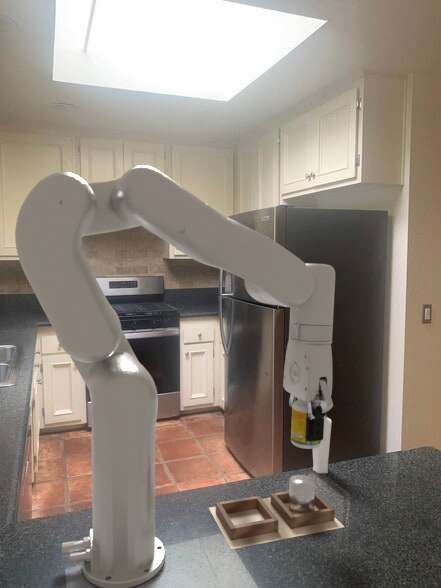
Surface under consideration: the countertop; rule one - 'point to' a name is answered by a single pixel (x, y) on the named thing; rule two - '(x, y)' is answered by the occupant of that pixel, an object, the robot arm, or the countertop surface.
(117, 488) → the robot arm
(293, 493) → the silver cylinder
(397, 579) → the countertop surface
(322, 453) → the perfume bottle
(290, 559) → the countertop surface
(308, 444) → the supplement bottle
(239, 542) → the socket board
